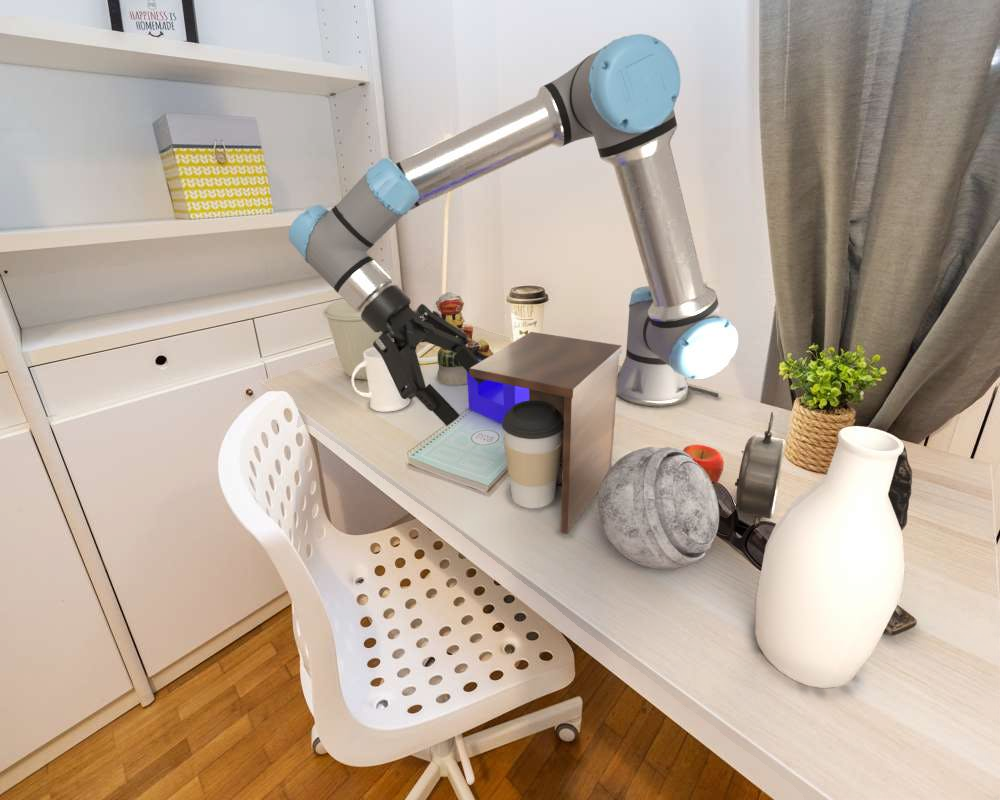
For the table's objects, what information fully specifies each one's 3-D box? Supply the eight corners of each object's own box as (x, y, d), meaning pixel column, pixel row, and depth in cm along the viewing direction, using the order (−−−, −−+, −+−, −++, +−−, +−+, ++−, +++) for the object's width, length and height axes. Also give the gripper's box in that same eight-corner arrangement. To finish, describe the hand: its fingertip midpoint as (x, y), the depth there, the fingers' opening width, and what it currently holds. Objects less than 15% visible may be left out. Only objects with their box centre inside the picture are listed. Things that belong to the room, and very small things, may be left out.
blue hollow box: (515, 430, 98) (514, 379, 94) (469, 409, 107) (466, 362, 103) (583, 395, 111) (585, 350, 107) (536, 379, 120) (536, 336, 116)
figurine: (476, 391, 115) (471, 304, 107) (422, 380, 122) (413, 297, 114) (503, 373, 125) (500, 291, 116) (451, 363, 132) (445, 285, 123)
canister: (384, 354, 139) (374, 276, 130) (423, 371, 127) (414, 286, 118) (322, 373, 128) (305, 289, 119) (357, 393, 116) (342, 302, 107)
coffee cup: (495, 505, 77) (491, 417, 71) (516, 473, 85) (514, 391, 79) (552, 518, 74) (554, 427, 68) (569, 484, 82) (572, 399, 75)
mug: (361, 419, 105) (352, 364, 99) (350, 404, 111) (341, 352, 106) (416, 405, 110) (409, 353, 104) (402, 392, 116) (396, 341, 111)
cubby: (477, 504, 78) (469, 368, 68) (531, 451, 91) (530, 331, 82) (568, 536, 71) (573, 389, 61) (612, 473, 84) (622, 345, 75)
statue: (889, 642, 54) (955, 484, 46) (828, 595, 60) (876, 447, 51) (916, 629, 55) (985, 473, 47) (853, 584, 61) (904, 438, 53)
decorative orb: (681, 615, 58) (699, 507, 52) (573, 559, 67) (577, 460, 60) (727, 544, 68) (746, 447, 62) (628, 503, 77) (636, 414, 70)
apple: (666, 486, 81) (671, 444, 77) (697, 477, 83) (704, 436, 79) (694, 508, 75) (701, 465, 72) (727, 498, 77) (735, 455, 74)
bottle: (828, 724, 47) (917, 493, 36) (722, 638, 55) (768, 430, 44) (888, 664, 52) (982, 446, 41) (782, 593, 60) (837, 398, 50)
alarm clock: (766, 541, 69) (792, 435, 62) (723, 528, 71) (743, 425, 64) (776, 498, 77) (799, 400, 70) (737, 488, 80) (756, 392, 73)
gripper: (401, 288, 91) (482, 375, 95) (315, 344, 71) (421, 453, 74) (426, 261, 87) (510, 353, 90) (341, 313, 67) (453, 429, 70)
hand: (470, 398), depth 82 cm, fingers open, 13 cm apart
